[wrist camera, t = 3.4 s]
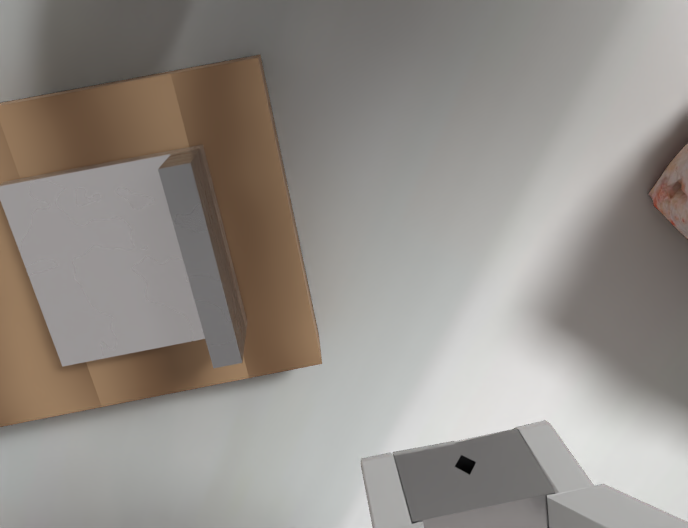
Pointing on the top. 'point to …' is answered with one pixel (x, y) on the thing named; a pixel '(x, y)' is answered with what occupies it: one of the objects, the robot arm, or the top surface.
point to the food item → (674, 192)
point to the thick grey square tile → (129, 257)
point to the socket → (236, 212)
